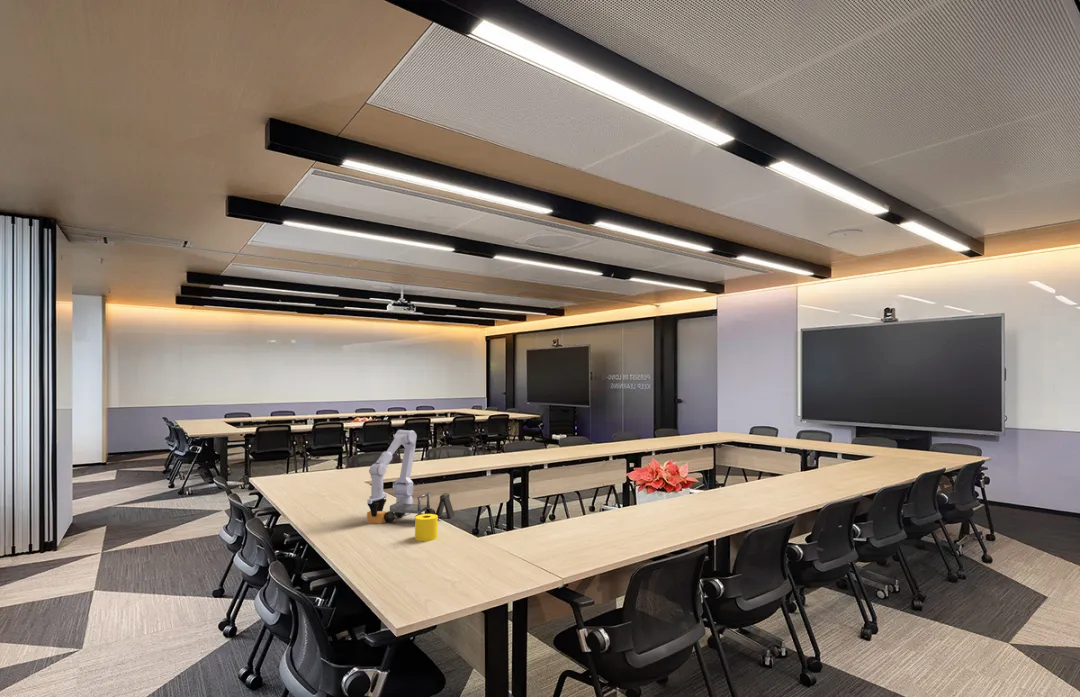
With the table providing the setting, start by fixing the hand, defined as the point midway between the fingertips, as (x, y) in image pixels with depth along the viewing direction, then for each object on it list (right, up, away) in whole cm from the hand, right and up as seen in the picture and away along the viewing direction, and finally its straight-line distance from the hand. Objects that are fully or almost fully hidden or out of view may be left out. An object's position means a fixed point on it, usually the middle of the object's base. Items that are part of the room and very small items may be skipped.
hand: (376, 515), depth 274 cm
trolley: (+16, -3, +1) cm, 17 cm away
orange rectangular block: (0, -3, 0) cm, 3 cm away
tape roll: (+31, -2, -28) cm, 41 cm away
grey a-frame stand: (+33, -4, +8) cm, 34 cm away
